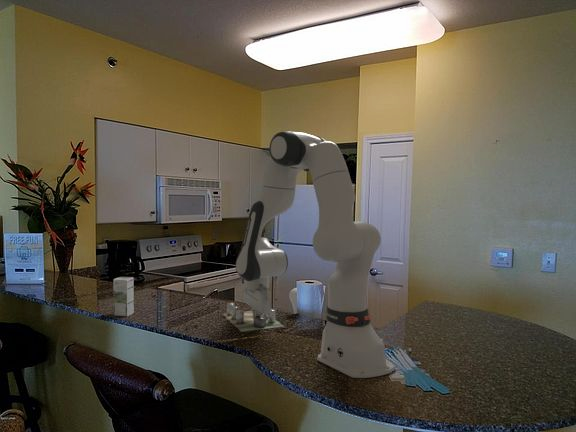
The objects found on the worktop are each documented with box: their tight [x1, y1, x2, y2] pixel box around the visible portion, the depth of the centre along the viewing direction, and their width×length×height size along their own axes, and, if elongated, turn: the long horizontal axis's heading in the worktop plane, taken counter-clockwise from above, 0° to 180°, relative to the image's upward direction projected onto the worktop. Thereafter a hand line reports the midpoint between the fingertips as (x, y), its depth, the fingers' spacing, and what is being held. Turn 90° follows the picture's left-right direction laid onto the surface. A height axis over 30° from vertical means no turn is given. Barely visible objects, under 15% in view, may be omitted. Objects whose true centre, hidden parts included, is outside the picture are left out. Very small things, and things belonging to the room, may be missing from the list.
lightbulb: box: [288, 287, 298, 315], centre depth 161 cm, size 6×6×11 cm
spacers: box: [226, 302, 277, 325], centre depth 154 cm, size 18×14×4 cm
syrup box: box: [112, 276, 135, 317], centre depth 160 cm, size 6×6×14 cm
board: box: [222, 310, 285, 333], centre depth 153 cm, size 24×16×1 cm, turn 24°
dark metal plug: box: [254, 316, 266, 328], centre depth 145 cm, size 4×4×3 cm
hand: (256, 320), depth 148 cm, fingers closed
